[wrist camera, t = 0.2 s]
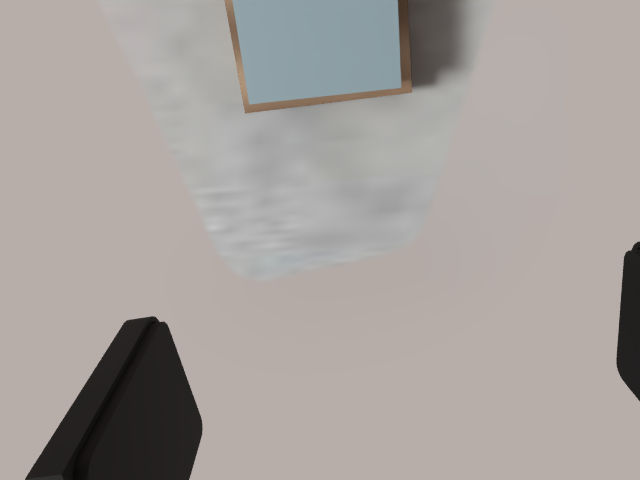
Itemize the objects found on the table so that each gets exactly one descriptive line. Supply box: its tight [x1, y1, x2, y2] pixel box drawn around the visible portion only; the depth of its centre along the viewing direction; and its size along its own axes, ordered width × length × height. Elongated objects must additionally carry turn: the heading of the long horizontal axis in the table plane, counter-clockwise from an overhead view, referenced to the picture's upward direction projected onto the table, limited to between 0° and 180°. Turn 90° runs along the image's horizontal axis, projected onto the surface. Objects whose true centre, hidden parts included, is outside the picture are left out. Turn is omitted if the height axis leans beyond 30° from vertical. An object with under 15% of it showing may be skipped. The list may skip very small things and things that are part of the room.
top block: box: [232, 0, 401, 104], centre depth 33 cm, size 10×10×3 cm
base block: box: [225, 0, 412, 113], centre depth 35 cm, size 12×12×3 cm
